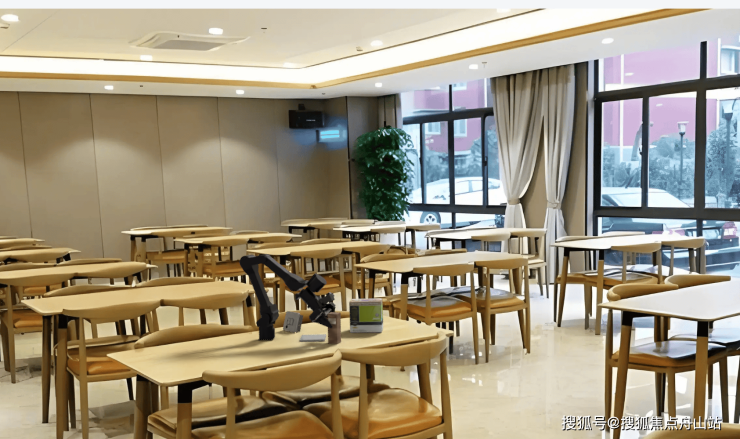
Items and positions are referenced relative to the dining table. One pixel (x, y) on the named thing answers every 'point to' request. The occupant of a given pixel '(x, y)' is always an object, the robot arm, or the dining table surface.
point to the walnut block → (334, 328)
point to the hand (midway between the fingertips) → (335, 325)
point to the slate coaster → (313, 338)
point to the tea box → (366, 315)
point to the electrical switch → (292, 321)
